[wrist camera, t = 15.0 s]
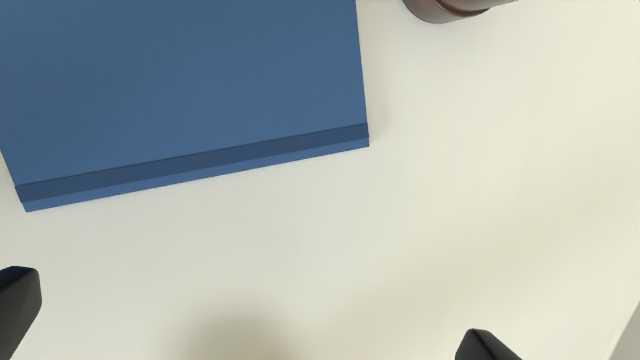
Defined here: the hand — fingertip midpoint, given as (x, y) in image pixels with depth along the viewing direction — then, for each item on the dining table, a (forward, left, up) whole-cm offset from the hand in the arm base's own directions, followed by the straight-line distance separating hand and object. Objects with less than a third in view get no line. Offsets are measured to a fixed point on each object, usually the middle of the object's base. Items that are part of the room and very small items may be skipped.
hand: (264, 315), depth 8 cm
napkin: (-2, +7, -12) cm, 14 cm away
